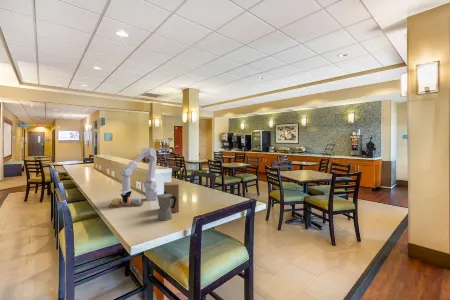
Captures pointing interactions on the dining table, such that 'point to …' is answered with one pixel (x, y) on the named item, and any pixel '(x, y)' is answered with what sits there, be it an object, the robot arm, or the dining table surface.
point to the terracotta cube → (127, 201)
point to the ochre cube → (116, 201)
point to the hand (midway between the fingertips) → (126, 201)
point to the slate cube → (136, 200)
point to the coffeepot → (165, 206)
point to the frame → (125, 205)
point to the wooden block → (173, 194)
